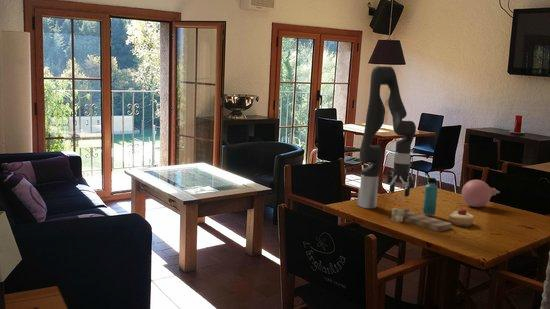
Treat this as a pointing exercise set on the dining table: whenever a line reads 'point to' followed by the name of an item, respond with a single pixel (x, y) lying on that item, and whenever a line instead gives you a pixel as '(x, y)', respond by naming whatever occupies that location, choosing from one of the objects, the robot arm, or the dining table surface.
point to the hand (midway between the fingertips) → (399, 194)
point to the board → (426, 221)
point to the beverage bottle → (430, 197)
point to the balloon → (477, 193)
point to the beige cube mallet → (398, 214)
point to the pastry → (461, 218)
